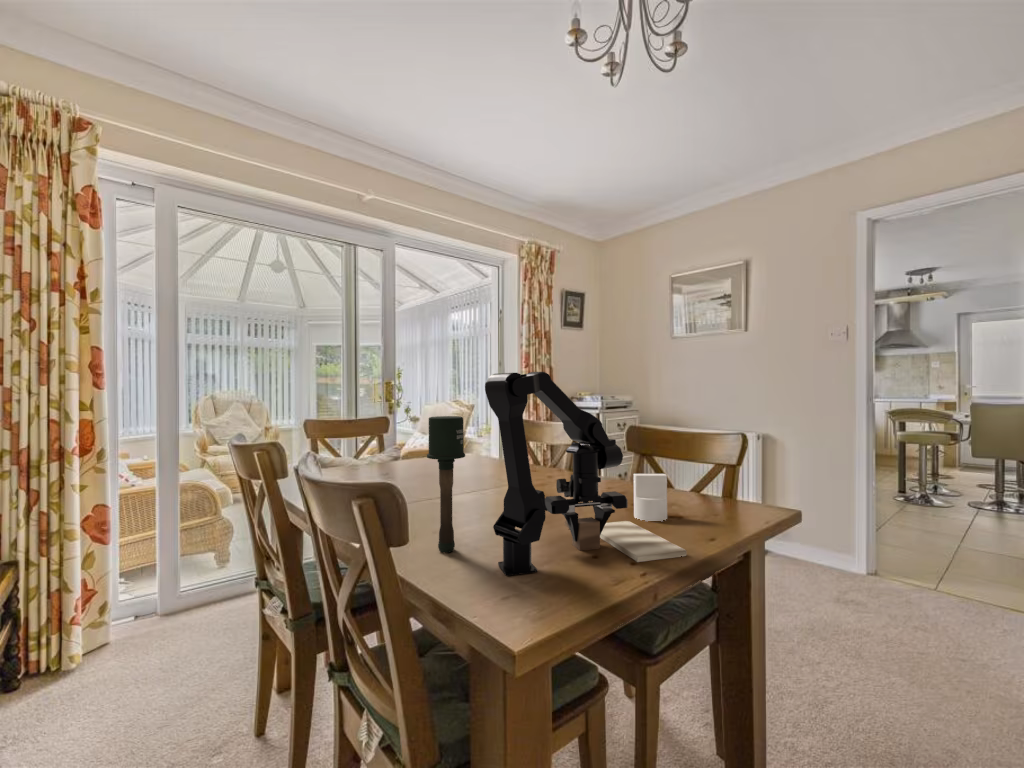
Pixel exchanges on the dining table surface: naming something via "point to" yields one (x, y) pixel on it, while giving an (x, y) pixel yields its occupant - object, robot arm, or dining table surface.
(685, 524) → the dining table surface
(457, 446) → the stick grenade
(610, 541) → the birch board
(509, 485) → the robot arm
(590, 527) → the marking gauge
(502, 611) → the dining table surface
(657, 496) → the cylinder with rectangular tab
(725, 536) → the dining table surface
